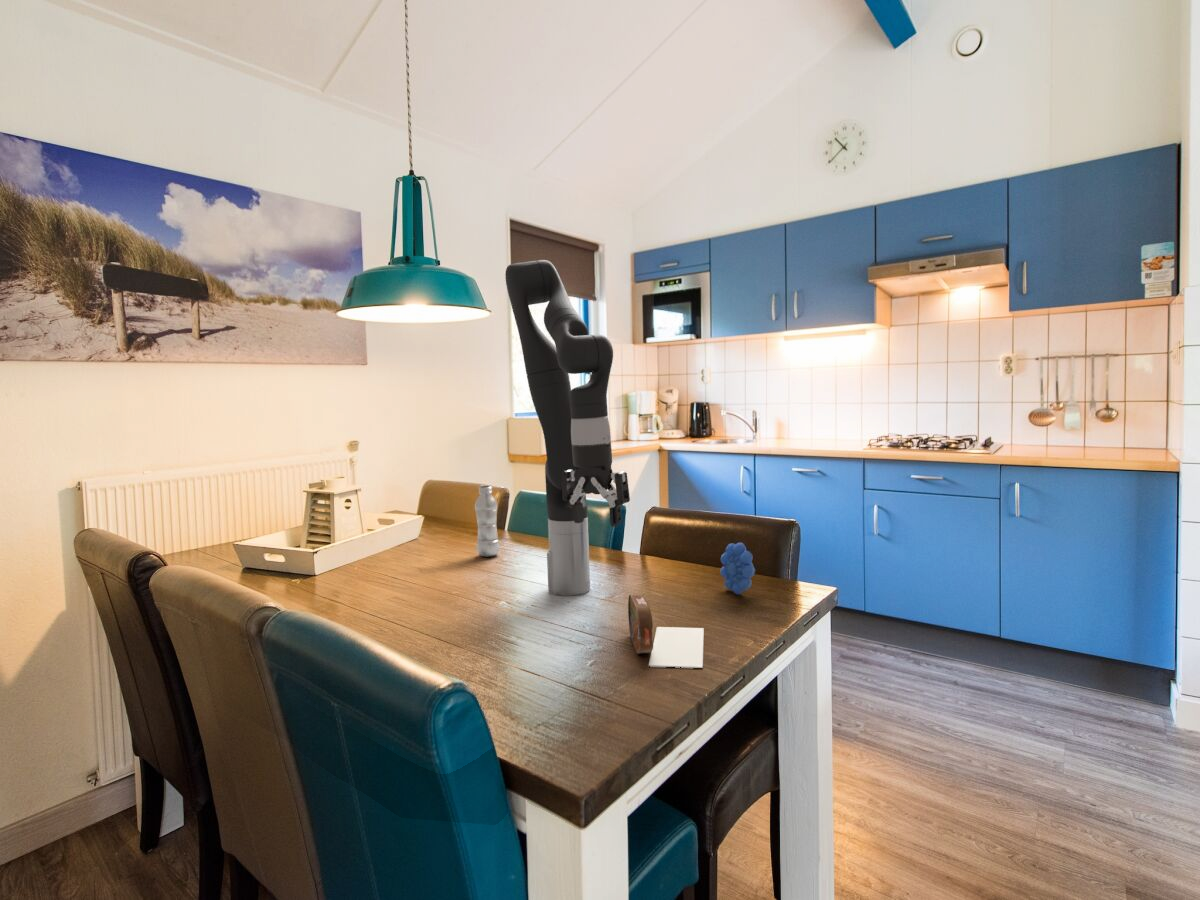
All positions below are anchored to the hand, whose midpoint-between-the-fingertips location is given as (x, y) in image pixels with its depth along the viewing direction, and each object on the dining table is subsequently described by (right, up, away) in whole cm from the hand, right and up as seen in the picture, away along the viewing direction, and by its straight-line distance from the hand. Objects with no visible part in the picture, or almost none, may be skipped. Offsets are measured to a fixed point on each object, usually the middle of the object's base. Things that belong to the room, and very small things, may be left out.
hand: (597, 524), depth 131 cm
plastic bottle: (-31, -16, +61) cm, 71 cm away
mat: (+15, -21, -9) cm, 27 cm away
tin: (+8, -21, -8) cm, 24 cm away
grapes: (+32, -18, +21) cm, 42 cm away
